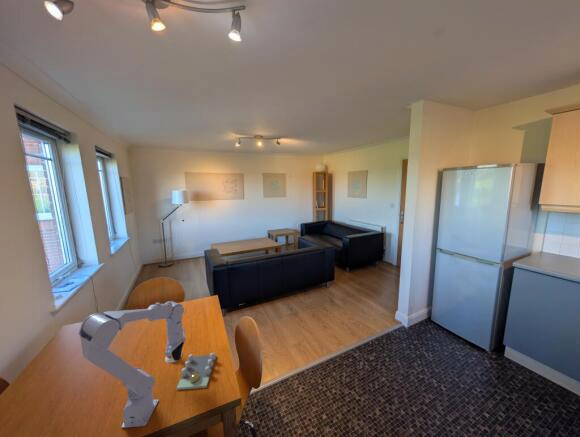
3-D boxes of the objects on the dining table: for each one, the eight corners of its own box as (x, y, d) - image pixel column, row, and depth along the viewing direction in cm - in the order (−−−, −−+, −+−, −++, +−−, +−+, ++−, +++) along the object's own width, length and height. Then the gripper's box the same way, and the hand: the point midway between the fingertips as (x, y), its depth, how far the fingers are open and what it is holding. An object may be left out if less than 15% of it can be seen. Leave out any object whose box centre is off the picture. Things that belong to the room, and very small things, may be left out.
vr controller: (186, 353, 104) (172, 348, 102) (174, 369, 106) (160, 364, 104) (191, 339, 111) (178, 334, 109) (180, 355, 113) (167, 350, 111)
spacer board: (206, 387, 92) (205, 379, 91) (176, 390, 90) (175, 381, 90) (216, 356, 108) (215, 349, 108) (191, 358, 107) (190, 351, 107)
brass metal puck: (198, 382, 93) (198, 378, 92) (188, 384, 92) (188, 379, 92) (200, 374, 97) (200, 370, 96) (191, 376, 96) (190, 372, 96)
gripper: (177, 341, 85) (180, 372, 87) (190, 319, 100) (192, 346, 101) (158, 342, 85) (161, 373, 87) (174, 320, 99) (177, 347, 101)
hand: (177, 359), depth 94 cm, fingers closed
